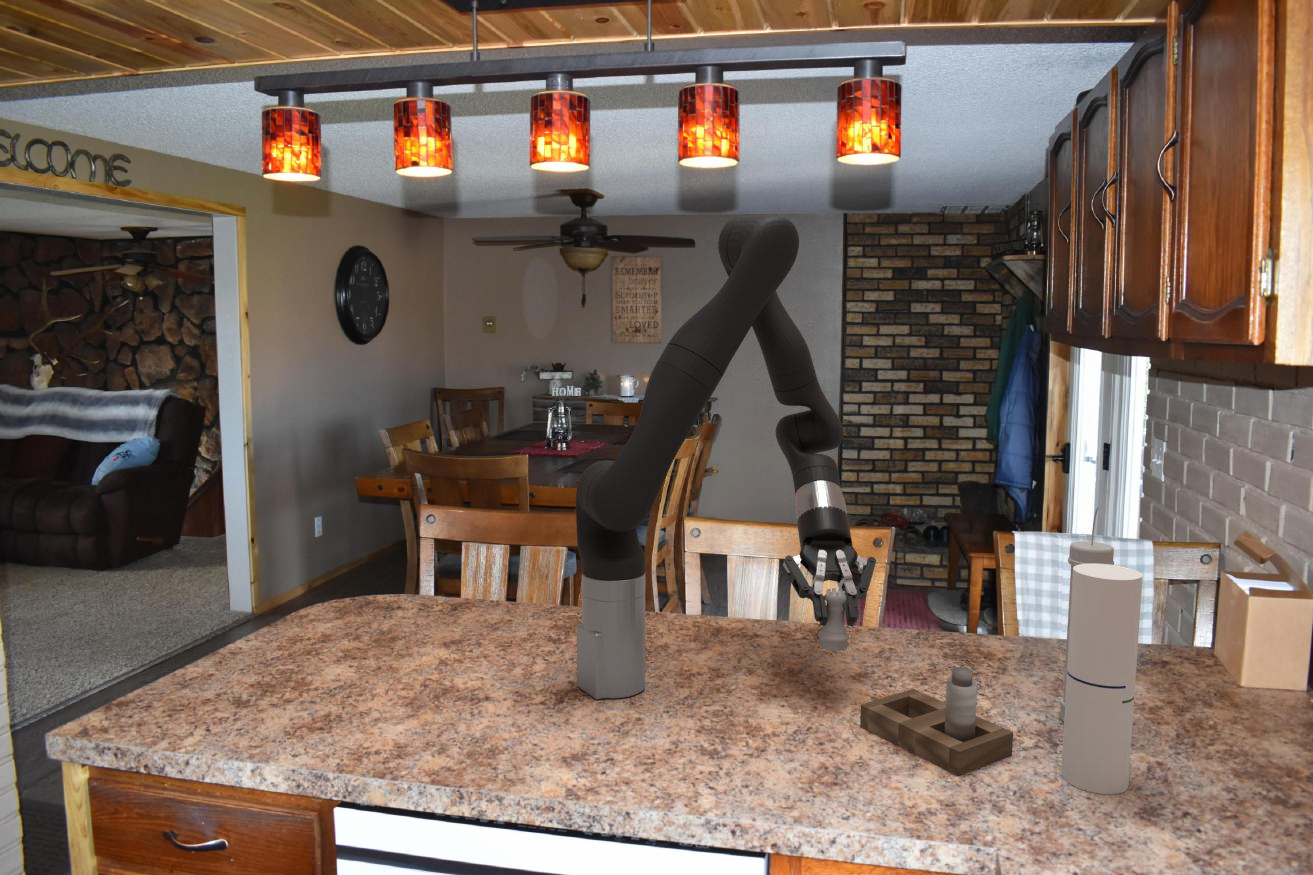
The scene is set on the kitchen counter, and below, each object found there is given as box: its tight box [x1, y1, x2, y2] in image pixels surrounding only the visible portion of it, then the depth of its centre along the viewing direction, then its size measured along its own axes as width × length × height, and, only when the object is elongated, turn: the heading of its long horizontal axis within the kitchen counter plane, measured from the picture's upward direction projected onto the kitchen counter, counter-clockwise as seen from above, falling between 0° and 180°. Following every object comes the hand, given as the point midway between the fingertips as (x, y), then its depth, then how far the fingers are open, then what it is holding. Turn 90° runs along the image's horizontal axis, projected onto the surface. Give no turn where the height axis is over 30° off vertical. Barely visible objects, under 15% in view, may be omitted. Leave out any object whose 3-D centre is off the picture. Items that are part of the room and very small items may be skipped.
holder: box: [859, 666, 1014, 777], centre depth 117 cm, size 16×10×11 cm, turn 32°
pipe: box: [1059, 506, 1115, 723], centre depth 121 cm, size 6×6×30 cm
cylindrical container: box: [1060, 563, 1144, 795], centre depth 106 cm, size 7×7×25 cm
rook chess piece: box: [817, 587, 850, 652], centre depth 129 cm, size 4×4×8 cm
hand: (838, 622), depth 127 cm, fingers closed on rook chess piece, 3 cm apart
